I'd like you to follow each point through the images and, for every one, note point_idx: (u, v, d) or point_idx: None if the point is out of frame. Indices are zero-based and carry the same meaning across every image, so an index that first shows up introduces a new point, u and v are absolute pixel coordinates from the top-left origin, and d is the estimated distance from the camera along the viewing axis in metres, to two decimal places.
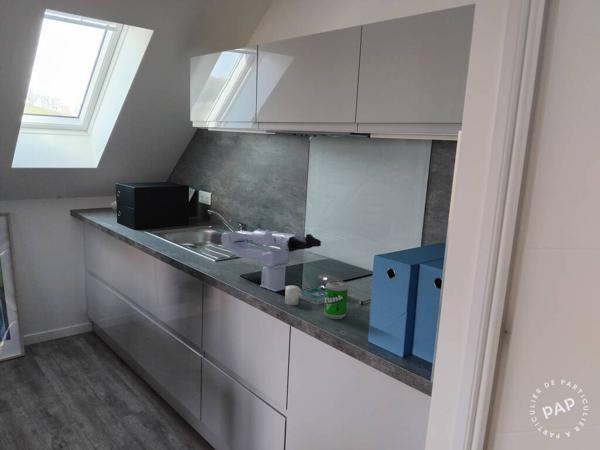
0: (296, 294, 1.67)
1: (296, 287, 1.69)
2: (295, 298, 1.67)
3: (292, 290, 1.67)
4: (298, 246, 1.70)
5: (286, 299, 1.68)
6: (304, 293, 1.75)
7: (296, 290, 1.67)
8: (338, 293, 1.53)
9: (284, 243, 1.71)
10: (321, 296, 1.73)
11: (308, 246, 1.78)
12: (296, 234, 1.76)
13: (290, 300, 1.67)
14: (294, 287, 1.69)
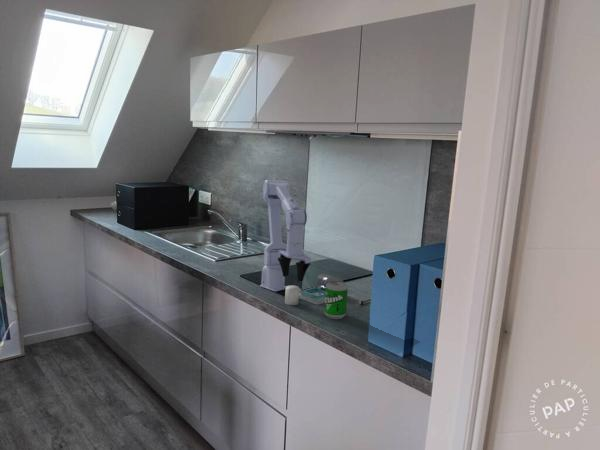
0: (296, 294, 1.67)
1: (296, 287, 1.69)
2: (295, 298, 1.67)
3: (292, 290, 1.67)
4: None
5: (286, 299, 1.68)
6: (304, 293, 1.75)
7: (296, 290, 1.67)
8: (337, 293, 1.53)
9: None
10: (321, 296, 1.73)
11: None
12: (287, 256, 1.65)
13: (290, 300, 1.67)
14: (294, 287, 1.69)
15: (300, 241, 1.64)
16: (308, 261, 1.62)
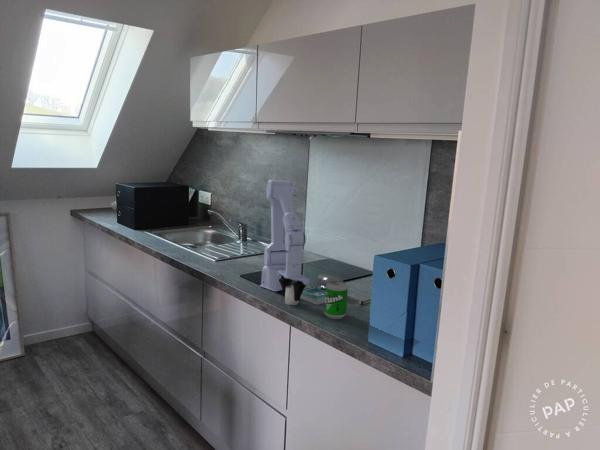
0: None
1: None
2: None
3: (292, 290, 1.67)
4: None
5: (286, 299, 1.68)
6: (304, 293, 1.75)
7: None
8: (338, 293, 1.53)
9: None
10: (321, 296, 1.73)
11: None
12: (286, 277, 1.66)
13: (290, 300, 1.67)
14: None
15: (299, 262, 1.65)
16: (307, 282, 1.63)
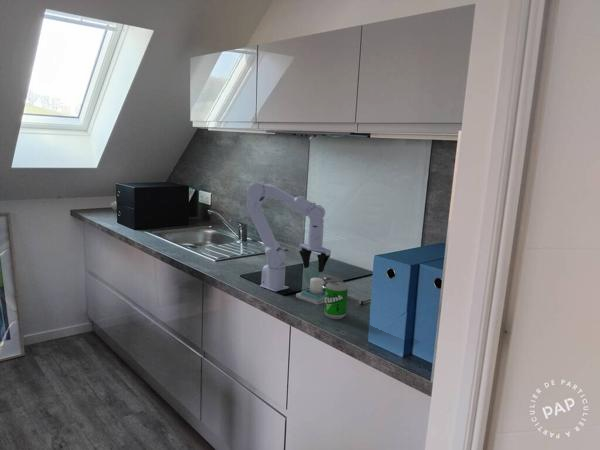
0: (321, 286, 1.74)
1: (320, 279, 1.76)
2: (320, 290, 1.74)
3: (317, 282, 1.73)
4: None
5: (311, 290, 1.74)
6: (304, 293, 1.75)
7: (321, 282, 1.74)
8: (338, 293, 1.53)
9: None
10: (321, 296, 1.73)
11: None
12: (309, 249, 1.79)
13: (315, 292, 1.74)
14: (319, 279, 1.76)
15: None
16: (328, 253, 1.77)
